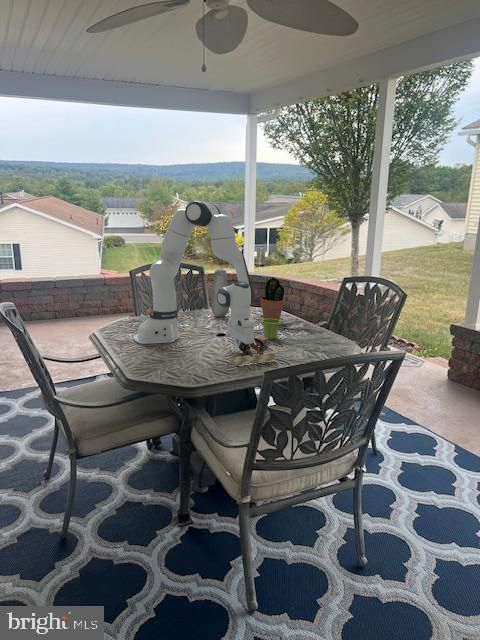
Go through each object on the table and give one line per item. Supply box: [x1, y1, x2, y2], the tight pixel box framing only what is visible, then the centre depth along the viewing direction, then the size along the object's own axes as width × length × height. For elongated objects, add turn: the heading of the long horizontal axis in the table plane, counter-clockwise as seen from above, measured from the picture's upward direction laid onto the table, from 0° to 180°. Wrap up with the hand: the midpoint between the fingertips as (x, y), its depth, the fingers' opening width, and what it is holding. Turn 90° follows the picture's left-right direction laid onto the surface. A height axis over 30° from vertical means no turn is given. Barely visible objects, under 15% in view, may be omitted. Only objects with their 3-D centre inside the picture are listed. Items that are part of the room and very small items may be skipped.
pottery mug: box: [238, 337, 266, 355], centre depth 203 cm, size 12×10×8 cm
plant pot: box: [261, 318, 281, 340], centre depth 229 cm, size 9×9×9 cm
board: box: [235, 351, 276, 365], centre depth 192 cm, size 18×2×5 cm, turn 116°
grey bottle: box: [210, 268, 230, 318], centre depth 264 cm, size 10×10×28 cm
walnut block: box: [255, 336, 269, 348], centre depth 215 cm, size 4×4×4 cm
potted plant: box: [260, 277, 285, 321], centre depth 258 cm, size 14×14×25 cm
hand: (239, 347), depth 205 cm, fingers closed
